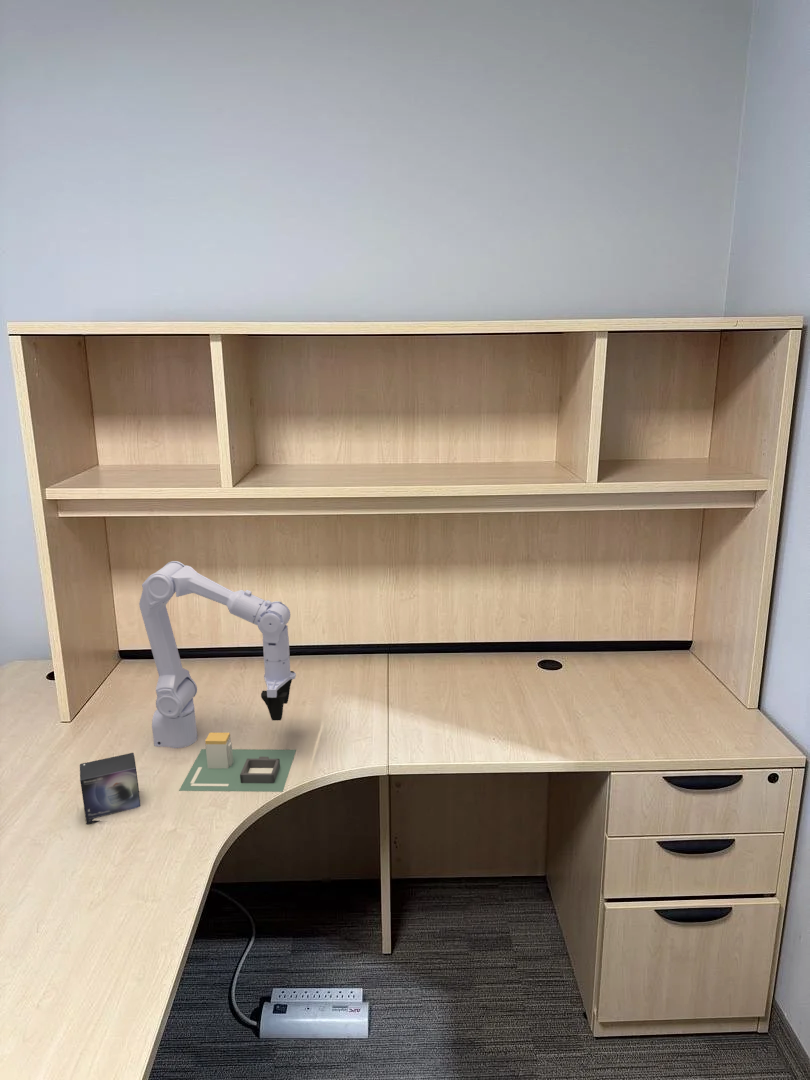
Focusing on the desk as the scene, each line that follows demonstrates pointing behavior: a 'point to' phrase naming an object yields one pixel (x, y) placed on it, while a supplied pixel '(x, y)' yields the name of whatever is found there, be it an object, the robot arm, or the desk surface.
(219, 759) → the plug
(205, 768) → the board
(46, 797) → the desk surface
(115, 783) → the small box
